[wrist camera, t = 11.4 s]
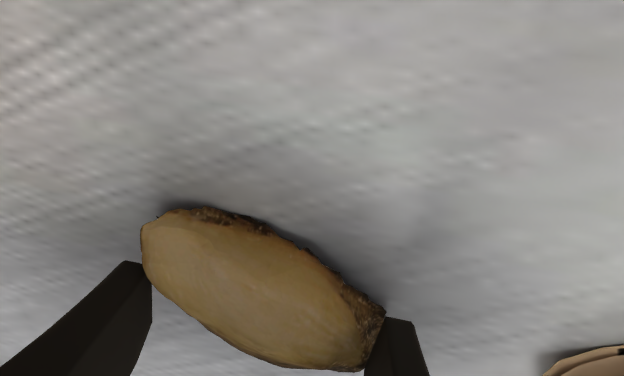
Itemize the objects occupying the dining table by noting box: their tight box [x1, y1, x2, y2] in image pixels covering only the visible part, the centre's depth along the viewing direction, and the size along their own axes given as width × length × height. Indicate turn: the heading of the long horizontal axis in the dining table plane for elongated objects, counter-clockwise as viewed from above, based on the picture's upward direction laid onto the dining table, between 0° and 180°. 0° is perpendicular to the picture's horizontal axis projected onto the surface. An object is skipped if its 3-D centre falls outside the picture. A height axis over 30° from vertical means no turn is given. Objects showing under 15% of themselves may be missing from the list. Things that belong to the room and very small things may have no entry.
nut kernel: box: [140, 206, 386, 373], centre depth 12 cm, size 6×5×3 cm
